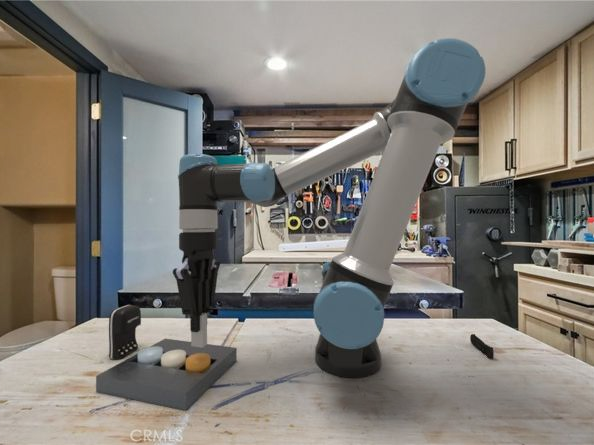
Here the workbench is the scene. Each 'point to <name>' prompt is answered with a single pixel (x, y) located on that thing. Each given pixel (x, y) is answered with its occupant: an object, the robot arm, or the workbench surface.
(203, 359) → the orange button
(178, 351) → the ivory button
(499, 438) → the workbench surface
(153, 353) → the pale blue button
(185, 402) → the panel
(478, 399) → the workbench surface
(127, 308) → the battery charger
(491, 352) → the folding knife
